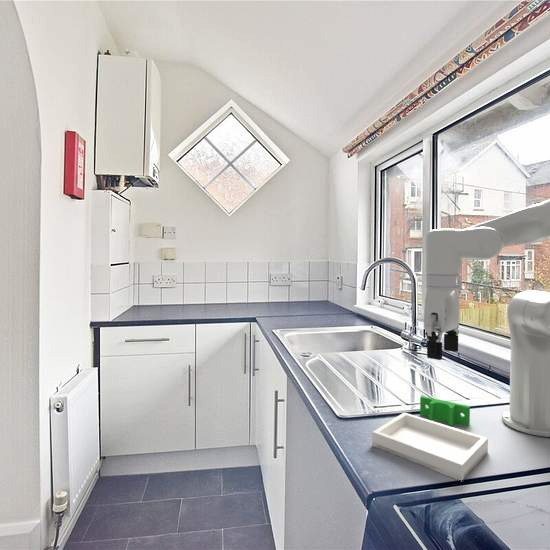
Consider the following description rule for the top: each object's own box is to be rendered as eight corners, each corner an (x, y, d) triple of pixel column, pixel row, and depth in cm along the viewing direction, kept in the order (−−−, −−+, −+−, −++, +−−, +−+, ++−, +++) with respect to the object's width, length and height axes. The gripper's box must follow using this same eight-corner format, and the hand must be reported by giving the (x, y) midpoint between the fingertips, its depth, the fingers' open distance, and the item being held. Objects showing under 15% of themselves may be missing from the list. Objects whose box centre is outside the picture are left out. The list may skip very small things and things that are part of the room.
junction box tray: (404, 424, 89) (404, 412, 89) (487, 452, 76) (487, 438, 76) (372, 445, 79) (372, 431, 79) (461, 481, 66) (462, 465, 66)
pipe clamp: (416, 418, 93) (416, 400, 93) (421, 413, 96) (421, 395, 96) (466, 430, 86) (466, 410, 86) (469, 424, 89) (470, 405, 89)
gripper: (441, 279, 96) (441, 345, 97) (411, 283, 84) (411, 359, 85) (473, 280, 91) (472, 350, 92) (445, 285, 79) (444, 365, 80)
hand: (443, 354), depth 88 cm, fingers open, 9 cm apart
